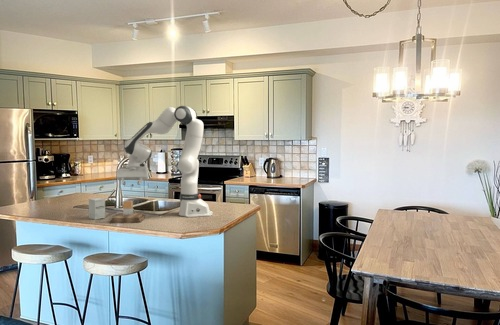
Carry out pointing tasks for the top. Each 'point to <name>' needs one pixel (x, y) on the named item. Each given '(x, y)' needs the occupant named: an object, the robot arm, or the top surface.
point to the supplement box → (96, 208)
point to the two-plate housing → (128, 208)
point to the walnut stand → (128, 218)
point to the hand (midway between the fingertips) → (131, 184)
